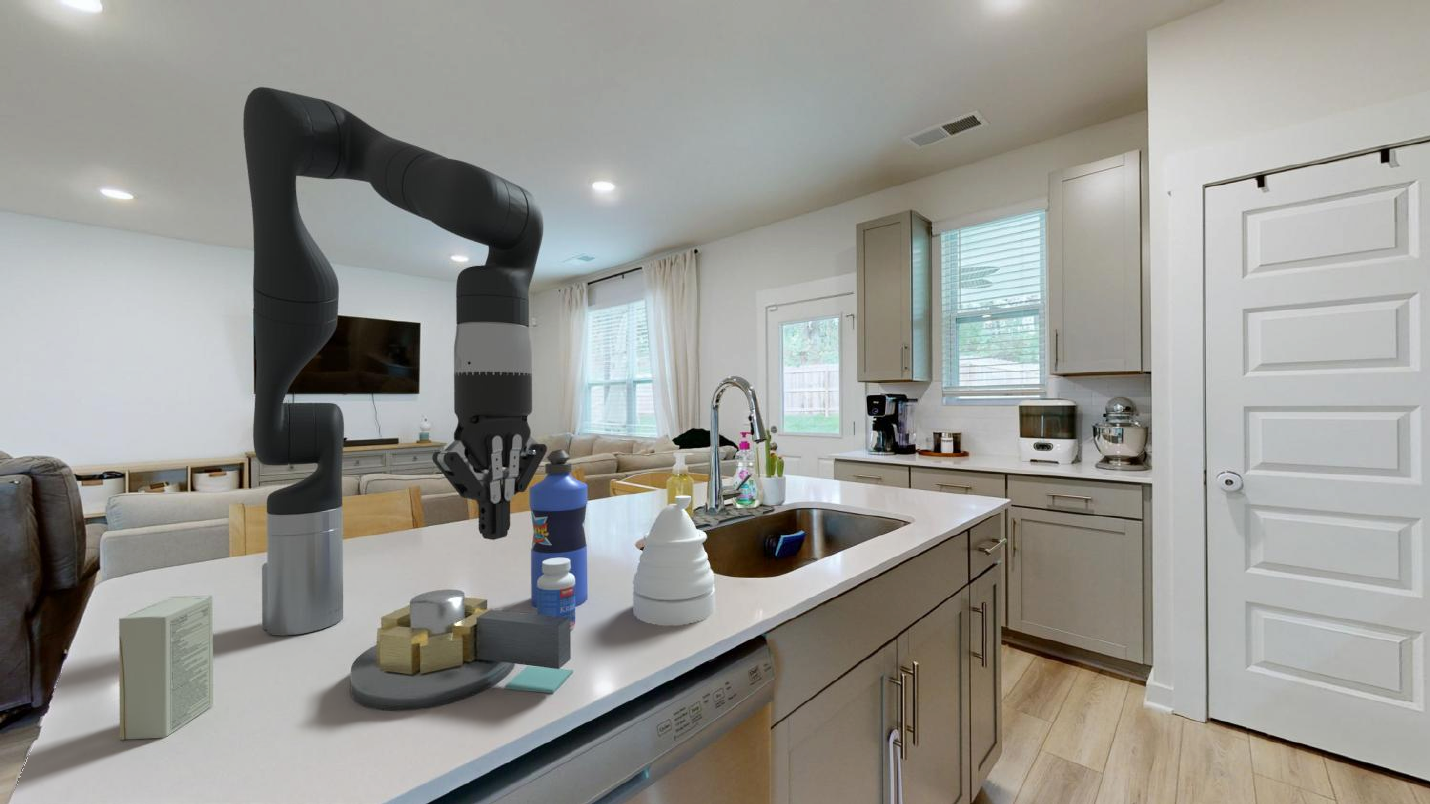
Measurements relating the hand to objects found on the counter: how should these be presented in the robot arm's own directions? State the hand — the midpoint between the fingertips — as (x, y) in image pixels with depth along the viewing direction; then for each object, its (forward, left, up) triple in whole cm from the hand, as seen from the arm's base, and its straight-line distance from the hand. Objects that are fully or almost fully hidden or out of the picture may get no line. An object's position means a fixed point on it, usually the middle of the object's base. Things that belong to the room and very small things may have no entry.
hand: (495, 537), depth 59 cm
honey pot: (+10, +33, -19) cm, 39 cm away
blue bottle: (-10, +34, -19) cm, 40 cm away
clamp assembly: (-8, +8, -16) cm, 19 cm away
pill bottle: (-5, +23, -19) cm, 30 cm away
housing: (-13, +8, -19) cm, 24 cm away
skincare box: (-33, -7, -19) cm, 39 cm away
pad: (0, +8, -19) cm, 20 cm away
